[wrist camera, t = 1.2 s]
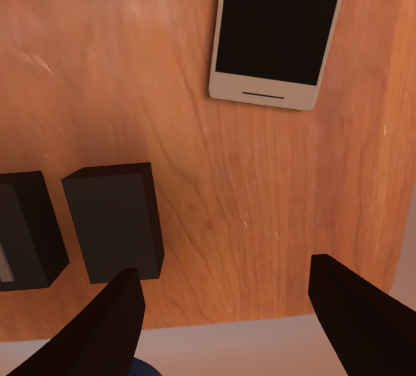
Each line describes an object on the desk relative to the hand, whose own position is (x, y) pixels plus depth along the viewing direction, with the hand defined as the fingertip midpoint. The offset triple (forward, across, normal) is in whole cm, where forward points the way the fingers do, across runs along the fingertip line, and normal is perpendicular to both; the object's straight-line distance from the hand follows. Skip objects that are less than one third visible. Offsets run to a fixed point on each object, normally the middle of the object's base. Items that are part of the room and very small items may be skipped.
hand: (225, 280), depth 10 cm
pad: (+9, +7, +1) cm, 12 cm away
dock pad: (+9, +15, +1) cm, 18 cm away
